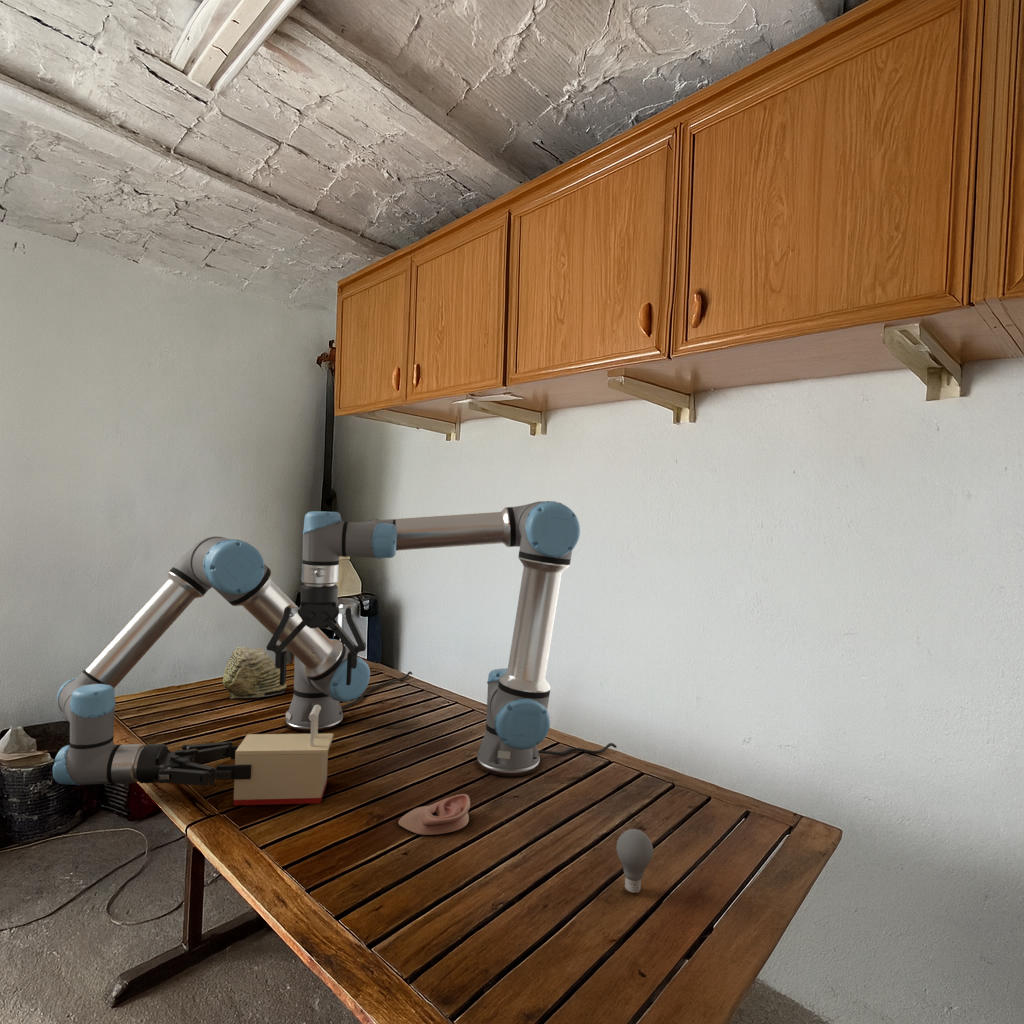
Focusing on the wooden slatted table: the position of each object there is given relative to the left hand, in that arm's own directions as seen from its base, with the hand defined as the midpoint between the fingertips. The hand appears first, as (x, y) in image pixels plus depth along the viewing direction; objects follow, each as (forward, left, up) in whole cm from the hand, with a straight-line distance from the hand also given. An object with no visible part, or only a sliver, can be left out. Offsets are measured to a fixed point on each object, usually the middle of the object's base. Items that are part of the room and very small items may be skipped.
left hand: (256, 761), depth 133 cm
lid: (-4, +4, +3) cm, 7 cm away
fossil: (-34, -61, -7) cm, 70 cm away
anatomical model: (-18, +35, -7) cm, 40 cm away
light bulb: (-25, +75, -7) cm, 80 cm away
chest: (-4, +4, -7) cm, 9 cm away
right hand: (-8, +8, +17) cm, 20 cm away
